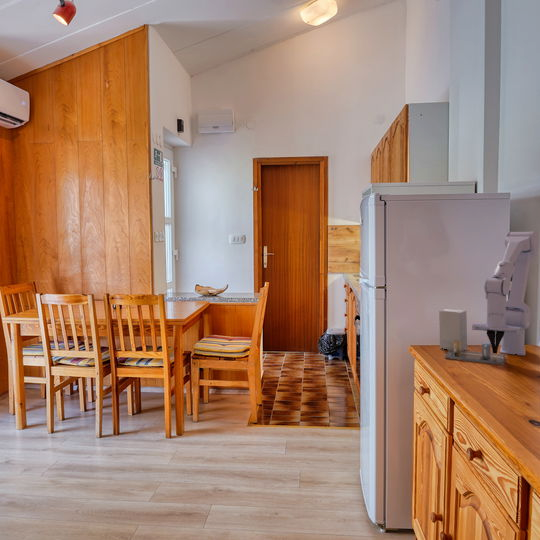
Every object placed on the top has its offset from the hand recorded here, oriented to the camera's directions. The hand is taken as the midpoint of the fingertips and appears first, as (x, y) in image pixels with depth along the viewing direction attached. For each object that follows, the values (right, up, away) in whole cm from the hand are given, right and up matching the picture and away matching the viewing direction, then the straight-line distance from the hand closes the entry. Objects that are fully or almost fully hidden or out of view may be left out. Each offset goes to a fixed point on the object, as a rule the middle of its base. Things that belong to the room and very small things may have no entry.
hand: (494, 352), depth 156 cm
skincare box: (-9, -2, +15) cm, 17 cm away
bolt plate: (-6, -2, +2) cm, 7 cm away
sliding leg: (-3, -1, 0) cm, 3 cm away
